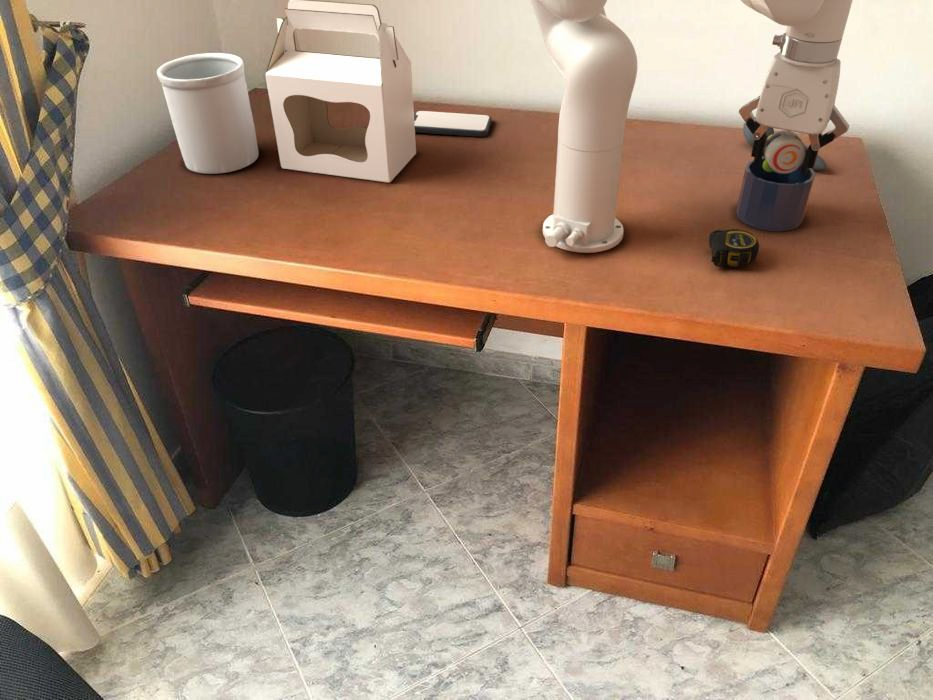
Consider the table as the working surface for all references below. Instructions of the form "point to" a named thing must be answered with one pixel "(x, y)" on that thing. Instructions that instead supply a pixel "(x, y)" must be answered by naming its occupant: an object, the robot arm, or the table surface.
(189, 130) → the utensil holder
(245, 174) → the table surface
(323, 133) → the gable box
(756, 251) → the tape measure
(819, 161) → the paintbrush
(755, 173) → the cup
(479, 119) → the phone case
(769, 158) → the roller toy
